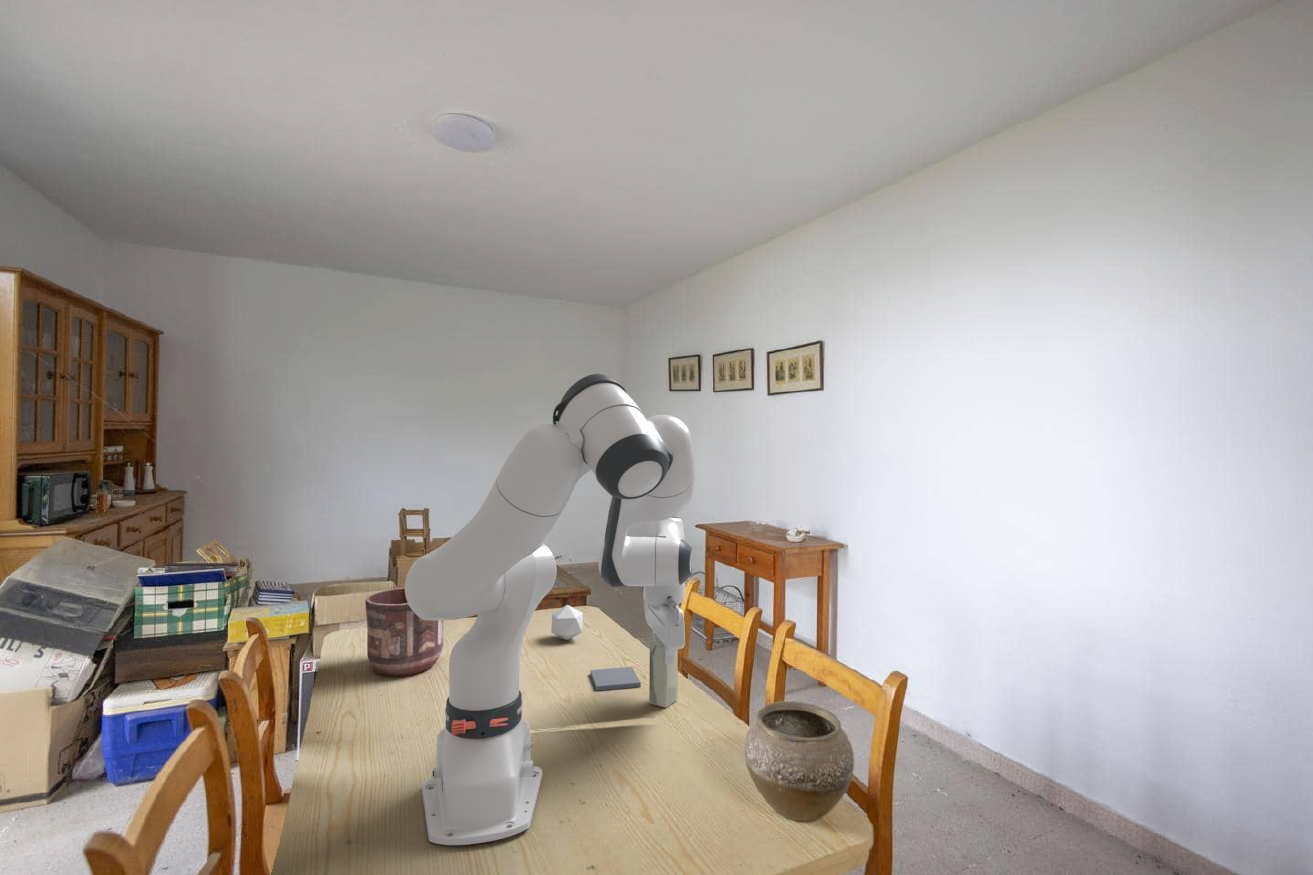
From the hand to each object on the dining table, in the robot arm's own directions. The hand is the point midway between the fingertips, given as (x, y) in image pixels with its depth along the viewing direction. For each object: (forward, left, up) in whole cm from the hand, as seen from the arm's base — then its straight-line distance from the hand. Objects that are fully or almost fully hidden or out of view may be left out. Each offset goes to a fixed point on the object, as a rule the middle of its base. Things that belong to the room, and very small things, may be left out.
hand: (663, 656), depth 129 cm
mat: (+14, +8, -10) cm, 19 cm away
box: (0, 0, -10) cm, 10 cm away
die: (+45, +16, -10) cm, 49 cm away
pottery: (+32, +56, -10) cm, 65 cm away
